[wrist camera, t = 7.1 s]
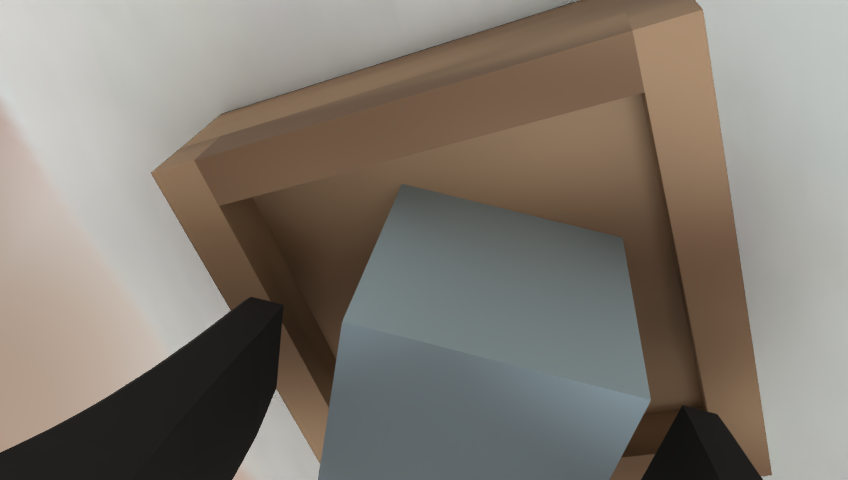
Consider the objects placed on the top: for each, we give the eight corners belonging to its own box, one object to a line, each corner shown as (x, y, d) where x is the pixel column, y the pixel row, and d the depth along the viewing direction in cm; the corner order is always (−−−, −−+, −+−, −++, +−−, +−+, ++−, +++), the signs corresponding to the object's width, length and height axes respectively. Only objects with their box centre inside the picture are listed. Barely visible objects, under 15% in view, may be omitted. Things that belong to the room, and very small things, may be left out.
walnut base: (736, 372, 17) (771, 474, 14) (377, 421, 20) (349, 513, 17) (670, -28, 12) (702, 9, 10) (221, 114, 15) (150, 173, 13)
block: (556, 396, 16) (558, 577, 12) (370, 349, 16) (313, 511, 12) (622, 237, 13) (650, 399, 9) (402, 183, 13) (342, 321, 10)
